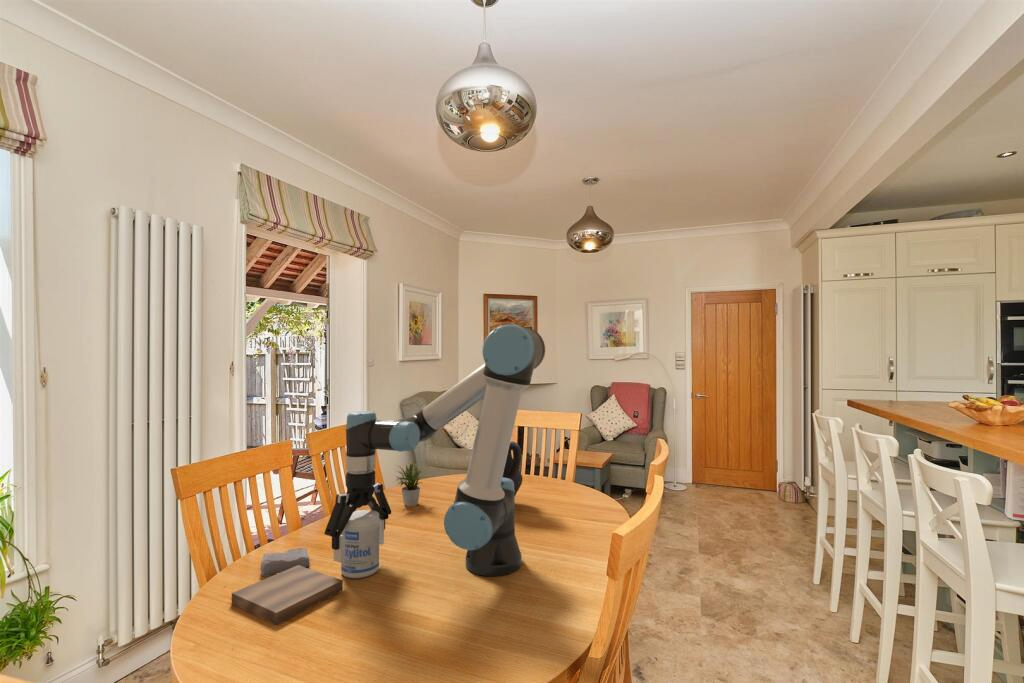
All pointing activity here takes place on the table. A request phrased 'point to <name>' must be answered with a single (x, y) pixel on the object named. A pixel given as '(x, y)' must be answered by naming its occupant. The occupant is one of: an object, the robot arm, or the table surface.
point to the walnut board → (286, 593)
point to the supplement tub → (361, 544)
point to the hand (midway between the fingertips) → (359, 551)
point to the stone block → (284, 561)
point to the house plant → (410, 485)
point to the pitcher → (513, 466)
